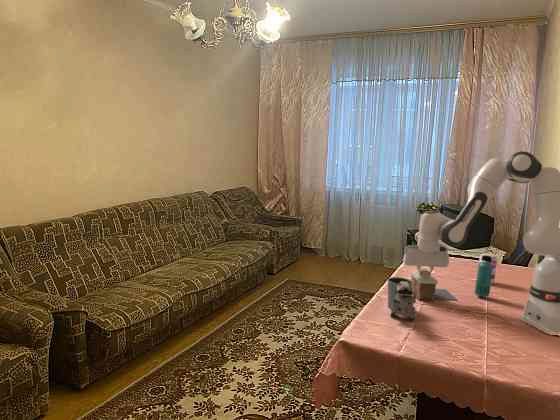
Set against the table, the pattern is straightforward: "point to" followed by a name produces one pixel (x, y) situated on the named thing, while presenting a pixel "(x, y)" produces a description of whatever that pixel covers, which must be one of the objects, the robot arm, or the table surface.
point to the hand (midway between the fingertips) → (424, 275)
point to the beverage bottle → (484, 277)
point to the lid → (424, 277)
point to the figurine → (404, 301)
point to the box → (423, 290)
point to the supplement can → (493, 262)
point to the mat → (443, 295)
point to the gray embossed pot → (394, 288)
